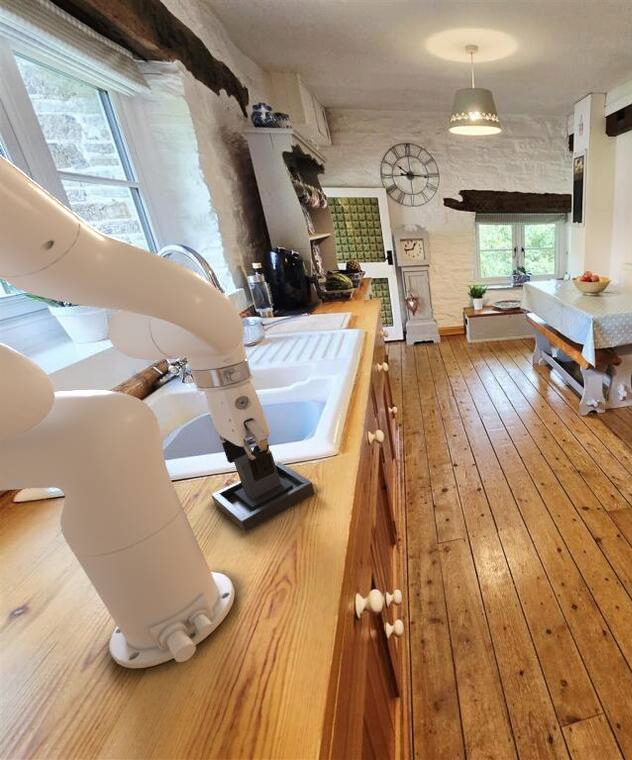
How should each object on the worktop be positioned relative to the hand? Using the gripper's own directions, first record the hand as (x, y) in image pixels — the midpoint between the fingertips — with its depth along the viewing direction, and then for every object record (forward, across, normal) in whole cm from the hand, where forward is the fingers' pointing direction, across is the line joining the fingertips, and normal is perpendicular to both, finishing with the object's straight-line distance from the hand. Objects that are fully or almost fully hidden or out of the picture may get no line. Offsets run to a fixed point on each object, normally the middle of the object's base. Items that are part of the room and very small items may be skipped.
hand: (251, 467), depth 70 cm
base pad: (+7, +1, -1) cm, 8 cm away
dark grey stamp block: (+7, +1, -1) cm, 7 cm away
